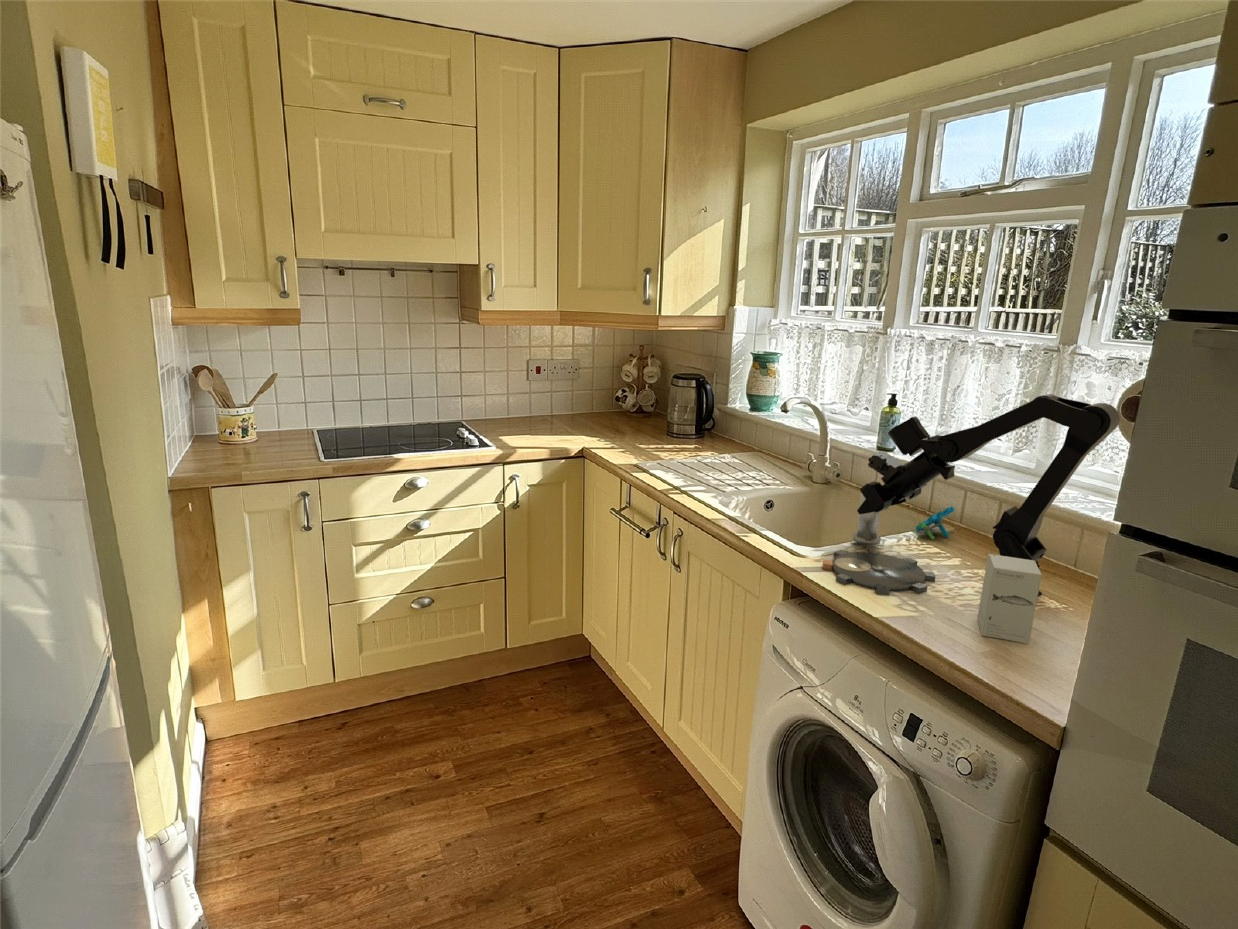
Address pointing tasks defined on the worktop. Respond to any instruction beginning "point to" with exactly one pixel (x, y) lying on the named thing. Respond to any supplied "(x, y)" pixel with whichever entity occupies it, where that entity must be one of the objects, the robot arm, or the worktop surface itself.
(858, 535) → the pin
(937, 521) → the cyan green stick cluster
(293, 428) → the worktop surface
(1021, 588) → the supplement box
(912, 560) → the sprocket plate
